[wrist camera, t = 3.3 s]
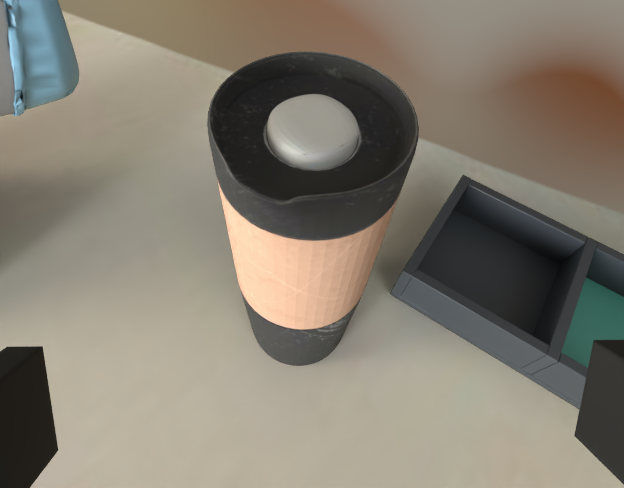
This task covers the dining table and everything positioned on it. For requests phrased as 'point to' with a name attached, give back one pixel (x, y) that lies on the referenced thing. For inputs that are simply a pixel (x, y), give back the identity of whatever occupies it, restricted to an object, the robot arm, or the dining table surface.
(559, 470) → the dining table surface
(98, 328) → the dining table surface
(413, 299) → the divided organizer tray
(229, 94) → the travel mug
